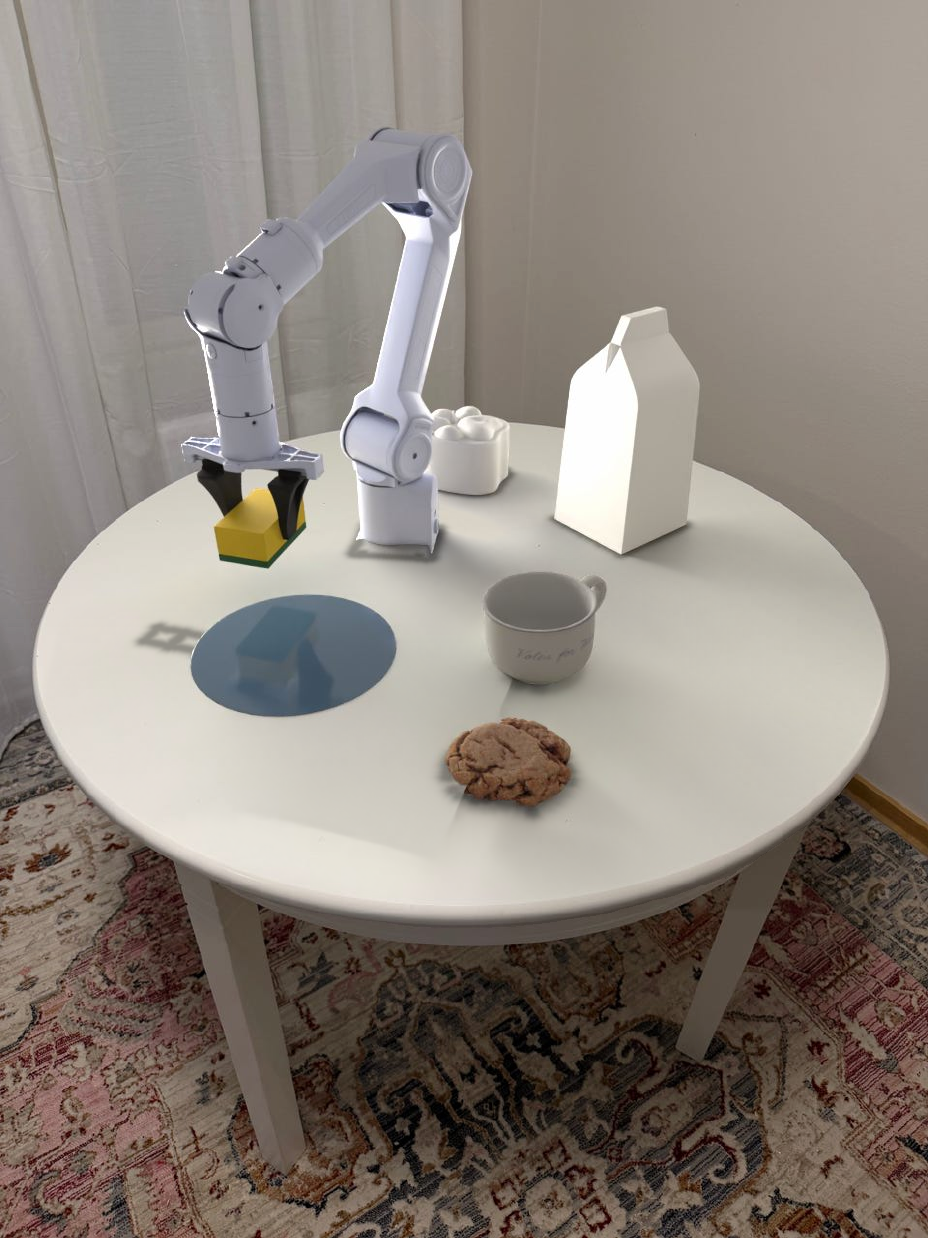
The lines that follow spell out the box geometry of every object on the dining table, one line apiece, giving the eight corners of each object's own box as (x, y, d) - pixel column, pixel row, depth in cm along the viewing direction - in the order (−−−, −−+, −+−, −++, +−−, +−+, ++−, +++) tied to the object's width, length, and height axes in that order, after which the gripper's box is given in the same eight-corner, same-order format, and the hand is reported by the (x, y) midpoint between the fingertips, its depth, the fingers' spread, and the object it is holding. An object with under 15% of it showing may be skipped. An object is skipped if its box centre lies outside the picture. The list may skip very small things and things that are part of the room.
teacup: (516, 712, 81) (519, 642, 76) (462, 650, 89) (462, 583, 84) (638, 670, 86) (649, 602, 82) (577, 614, 94) (583, 549, 90)
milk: (621, 554, 105) (647, 334, 90) (554, 518, 112) (568, 310, 97) (686, 524, 111) (721, 314, 96) (619, 492, 118) (641, 292, 103)
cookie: (430, 748, 77) (429, 722, 75) (539, 719, 80) (541, 694, 78) (471, 829, 69) (471, 803, 68) (591, 794, 72) (594, 768, 71)
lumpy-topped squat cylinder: (488, 498, 116) (490, 437, 111) (399, 482, 120) (397, 422, 115) (514, 467, 124) (516, 409, 119) (429, 453, 128) (428, 396, 123)
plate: (411, 611, 95) (411, 600, 94) (376, 736, 78) (375, 724, 77) (231, 599, 96) (229, 588, 96) (160, 719, 80) (157, 707, 79)
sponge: (306, 527, 95) (302, 494, 93) (268, 568, 88) (263, 534, 86) (261, 520, 97) (256, 487, 94) (219, 560, 90) (213, 526, 87)
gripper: (154, 413, 83) (181, 539, 90) (295, 430, 79) (310, 560, 87) (194, 387, 88) (216, 508, 96) (327, 403, 85) (338, 527, 93)
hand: (263, 531), depth 92 cm, fingers closed on sponge, 5 cm apart
